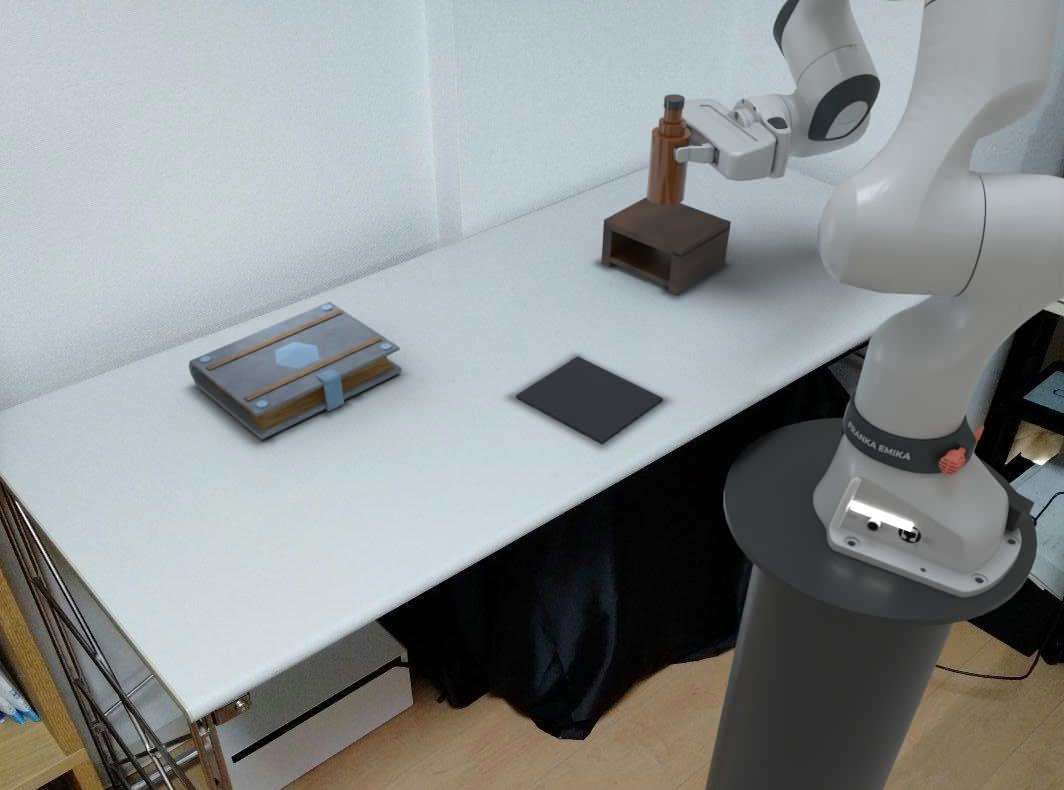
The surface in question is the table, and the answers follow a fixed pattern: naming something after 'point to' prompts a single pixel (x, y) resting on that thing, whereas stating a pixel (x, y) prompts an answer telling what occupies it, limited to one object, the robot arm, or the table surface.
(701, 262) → the shelf
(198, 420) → the table surface
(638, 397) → the mat
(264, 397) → the book
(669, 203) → the bottle
